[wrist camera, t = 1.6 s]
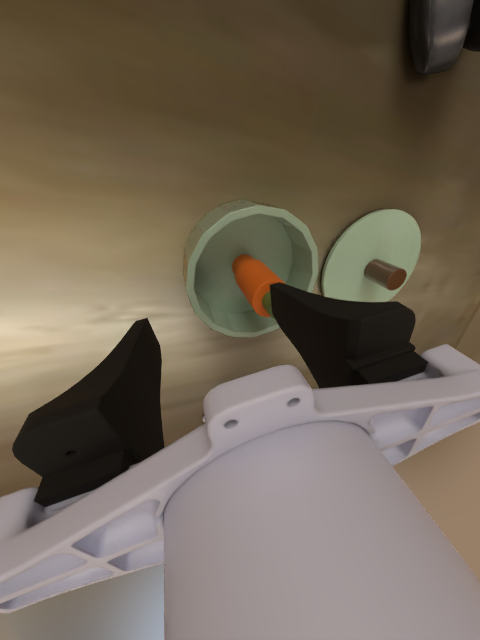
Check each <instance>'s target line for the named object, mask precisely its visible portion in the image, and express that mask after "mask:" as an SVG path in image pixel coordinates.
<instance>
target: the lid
mask: <svg viewBox="0 0 480 640" xmlns="http://www.w3.org/2000/svg"><path fill="white" fill-rule="evenodd" d="M420 248H421V234H420V229H419V226H418V224H417V222H416V221H415V219H414V218H413V217H412V216H411V215H410V214H408V213H406V212H404V211H401V210H396V209H382V210H378V211H375V212H372V213H369V214H367V215H366V216H364V217H362V218H360V219H359V220H357V221H356V222H355V223H353V224H352V225H351V226H350V227H349V228H348V229H347V230H346V231H345V232H344V233H343V234H342V235H341V236H340V237H339V239H338V240H337V241H336V243H335V244H334V246H333V247H332V249H331V251H330V253H329V255H328V257H327V259H326V262H325V265H324V268H323V273H322V281H321V285H322V292H323V296H324V297H329V298H334V299H340V300H348V301H359V302H388V301H389V300H390V299H391V298H392V297H394V296H395V295H396V294H397V293H398V292H399V290H400V289H401V288H402V287H403V286H404V284H405V283H406V282H407V280H408V279H409V277H410V275H411V274H412V272H413V270H414V268H415V265H416V263H417V260H418V257H419V253H420Z"/></svg>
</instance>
